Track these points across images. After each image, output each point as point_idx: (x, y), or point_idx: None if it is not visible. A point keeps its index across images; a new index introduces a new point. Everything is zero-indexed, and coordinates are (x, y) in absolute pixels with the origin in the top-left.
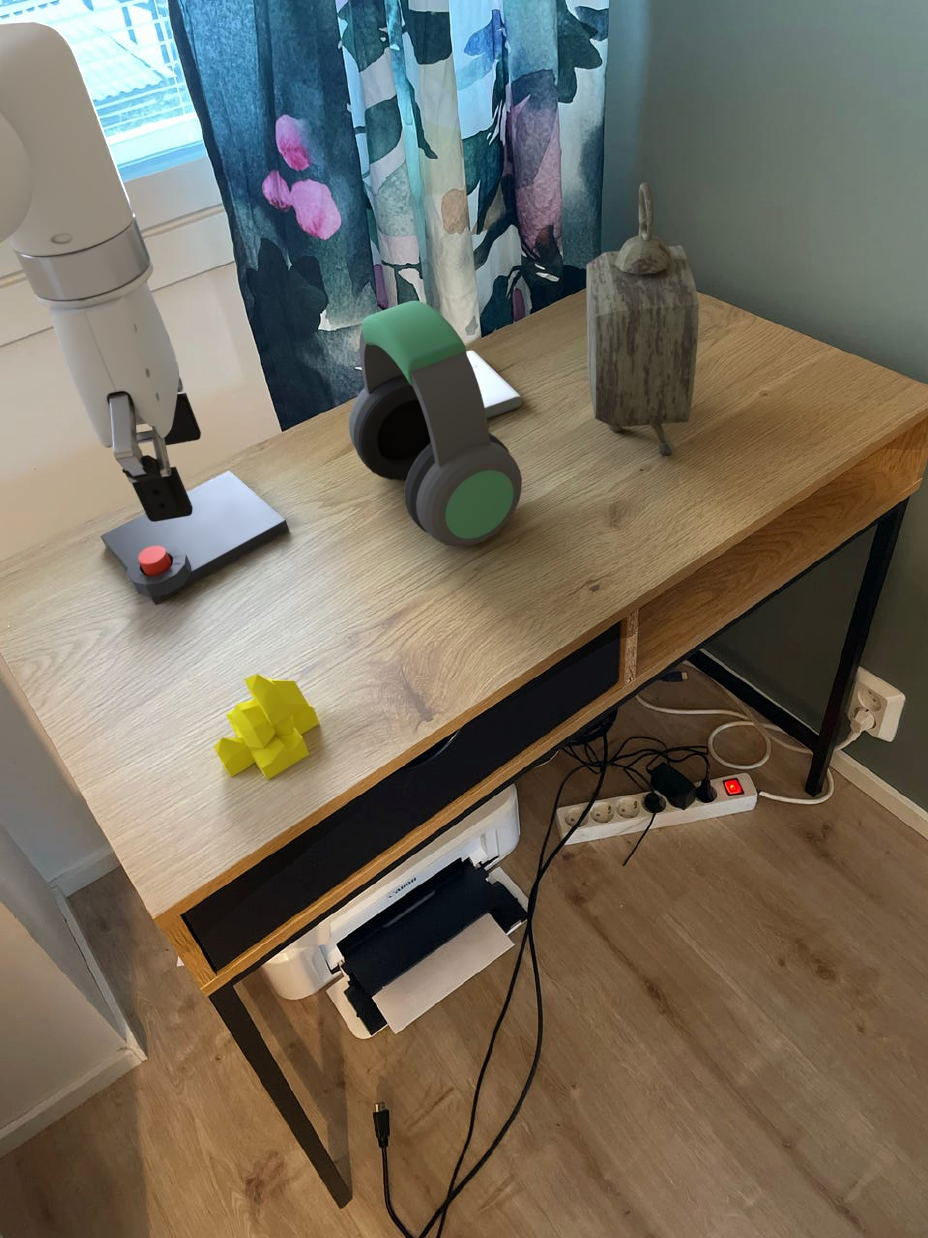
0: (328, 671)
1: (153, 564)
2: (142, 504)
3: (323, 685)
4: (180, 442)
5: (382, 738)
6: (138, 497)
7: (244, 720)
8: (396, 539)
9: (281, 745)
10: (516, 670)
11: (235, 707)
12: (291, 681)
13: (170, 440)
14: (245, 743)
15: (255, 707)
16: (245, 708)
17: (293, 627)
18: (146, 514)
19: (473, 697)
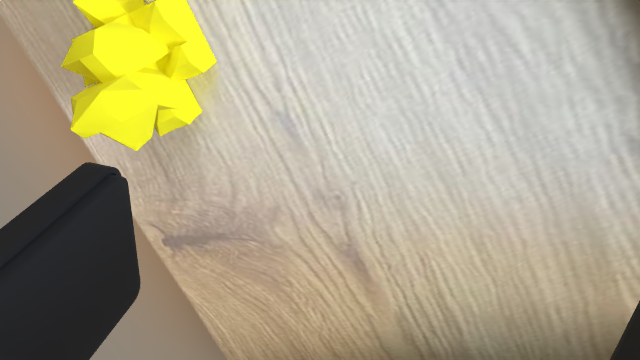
0: (276, 152)
1: None
2: (36, 204)
3: (250, 139)
4: (620, 344)
5: (144, 187)
6: (4, 226)
7: (70, 57)
8: (543, 318)
9: (85, 82)
10: (219, 341)
11: (93, 47)
12: (131, 148)
13: (638, 330)
14: (96, 27)
15: (98, 78)
16: (87, 65)
17: (397, 122)
18: (68, 175)
19: (189, 292)
